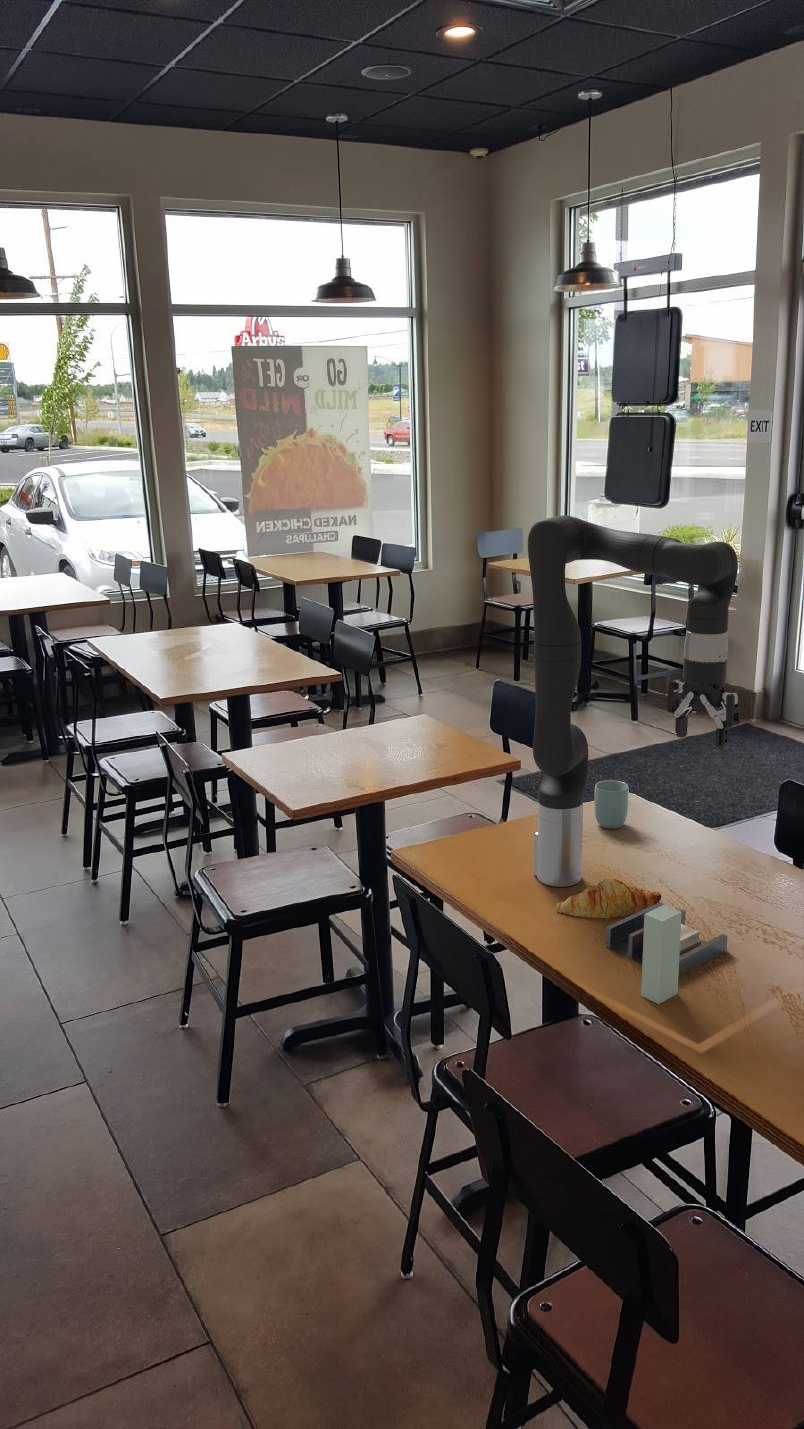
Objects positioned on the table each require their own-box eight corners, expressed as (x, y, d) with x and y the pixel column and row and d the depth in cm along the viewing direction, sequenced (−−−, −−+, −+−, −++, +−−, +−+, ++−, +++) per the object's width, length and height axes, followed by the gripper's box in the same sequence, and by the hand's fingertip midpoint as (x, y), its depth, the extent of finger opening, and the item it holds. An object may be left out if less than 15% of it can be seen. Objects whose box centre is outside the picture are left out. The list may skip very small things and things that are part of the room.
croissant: (560, 939, 209) (565, 915, 204) (547, 897, 216) (552, 872, 211) (664, 926, 212) (673, 902, 206) (648, 885, 219) (656, 861, 213)
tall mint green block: (641, 1000, 181) (644, 914, 176) (659, 990, 184) (663, 904, 179) (658, 1009, 178) (662, 921, 173) (677, 998, 181) (681, 912, 176)
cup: (627, 832, 250) (628, 792, 247) (593, 831, 251) (594, 790, 248) (627, 820, 257) (628, 780, 254) (594, 818, 258) (595, 779, 256)
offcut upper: (652, 944, 193) (653, 934, 192) (677, 932, 197) (678, 922, 196) (673, 954, 189) (674, 944, 189) (698, 941, 193) (699, 931, 193)
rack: (605, 951, 197) (606, 924, 195) (658, 926, 206) (659, 899, 204) (673, 984, 185) (674, 955, 184) (726, 955, 194) (728, 928, 193)
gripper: (660, 652, 196) (656, 737, 200) (726, 665, 185) (721, 755, 190) (686, 645, 200) (682, 729, 205) (752, 658, 190) (746, 746, 194)
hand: (701, 741), depth 197 cm, fingers open, 8 cm apart
